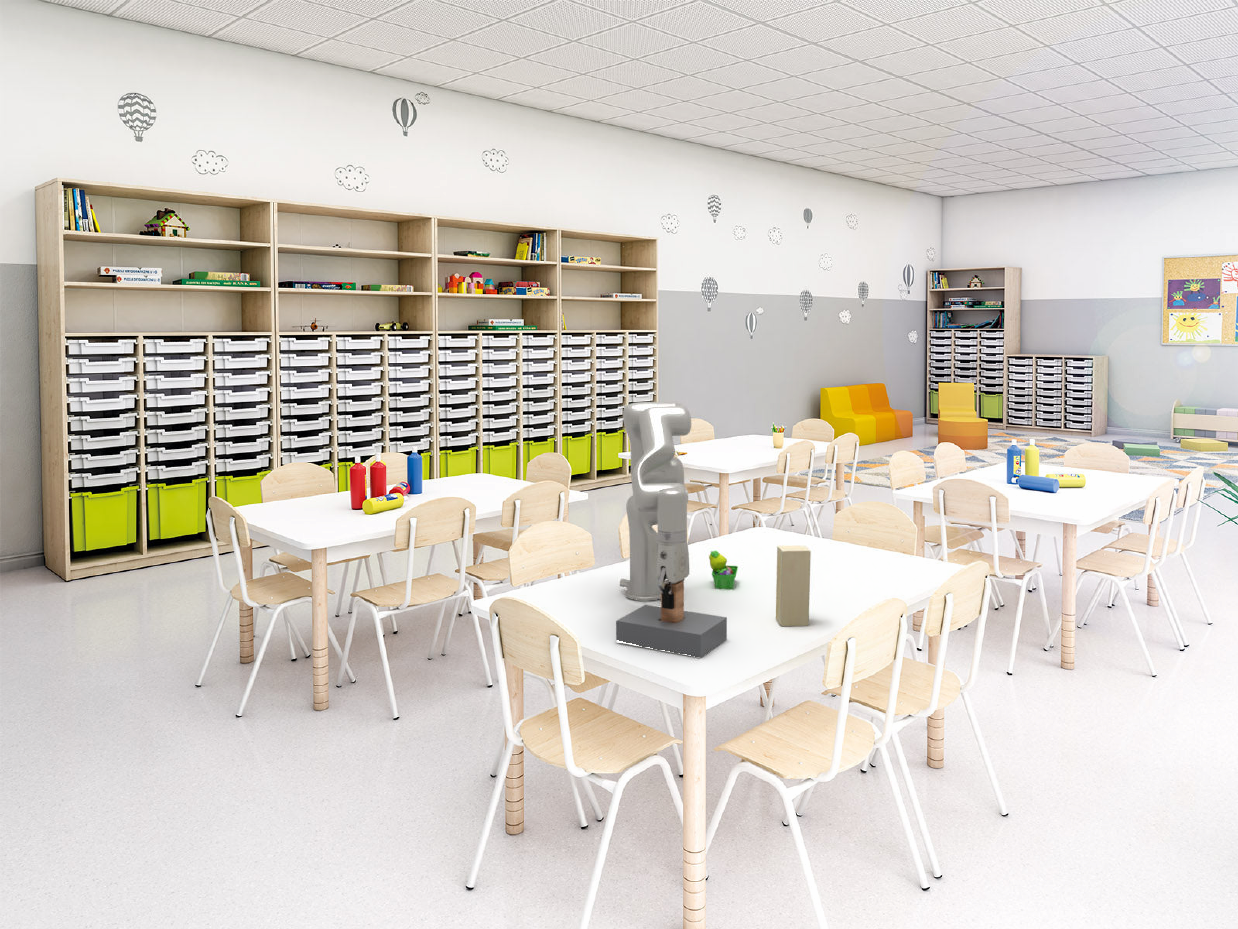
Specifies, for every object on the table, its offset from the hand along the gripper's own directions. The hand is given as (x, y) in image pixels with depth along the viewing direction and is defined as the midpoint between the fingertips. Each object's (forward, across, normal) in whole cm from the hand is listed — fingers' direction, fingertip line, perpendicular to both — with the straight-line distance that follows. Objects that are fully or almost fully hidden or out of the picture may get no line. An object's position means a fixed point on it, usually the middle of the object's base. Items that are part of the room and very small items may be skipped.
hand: (672, 605), depth 237 cm
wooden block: (+7, 0, 0) cm, 7 cm away
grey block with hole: (+10, 0, 0) cm, 10 cm away
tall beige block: (+10, +30, -22) cm, 38 cm away
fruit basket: (+10, +56, +10) cm, 58 cm away
